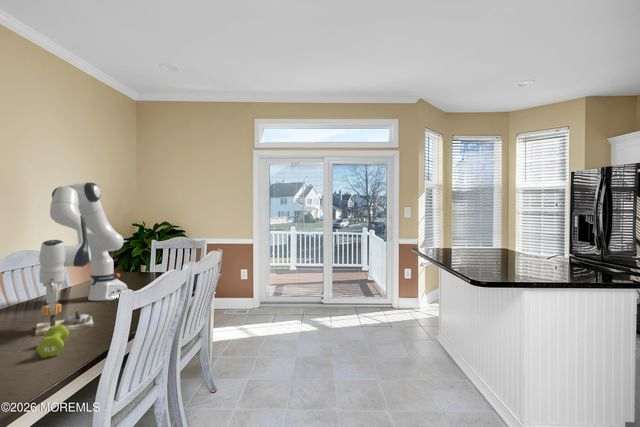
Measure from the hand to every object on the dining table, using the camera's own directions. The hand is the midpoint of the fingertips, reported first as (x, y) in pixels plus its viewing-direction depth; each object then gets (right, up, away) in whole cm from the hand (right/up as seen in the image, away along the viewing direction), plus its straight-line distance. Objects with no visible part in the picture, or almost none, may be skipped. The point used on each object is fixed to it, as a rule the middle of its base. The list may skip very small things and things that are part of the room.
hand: (52, 308), depth 149 cm
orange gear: (0, -2, 0) cm, 2 cm away
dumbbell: (+17, -10, -21) cm, 29 cm away
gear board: (+4, -9, +3) cm, 10 cm away
